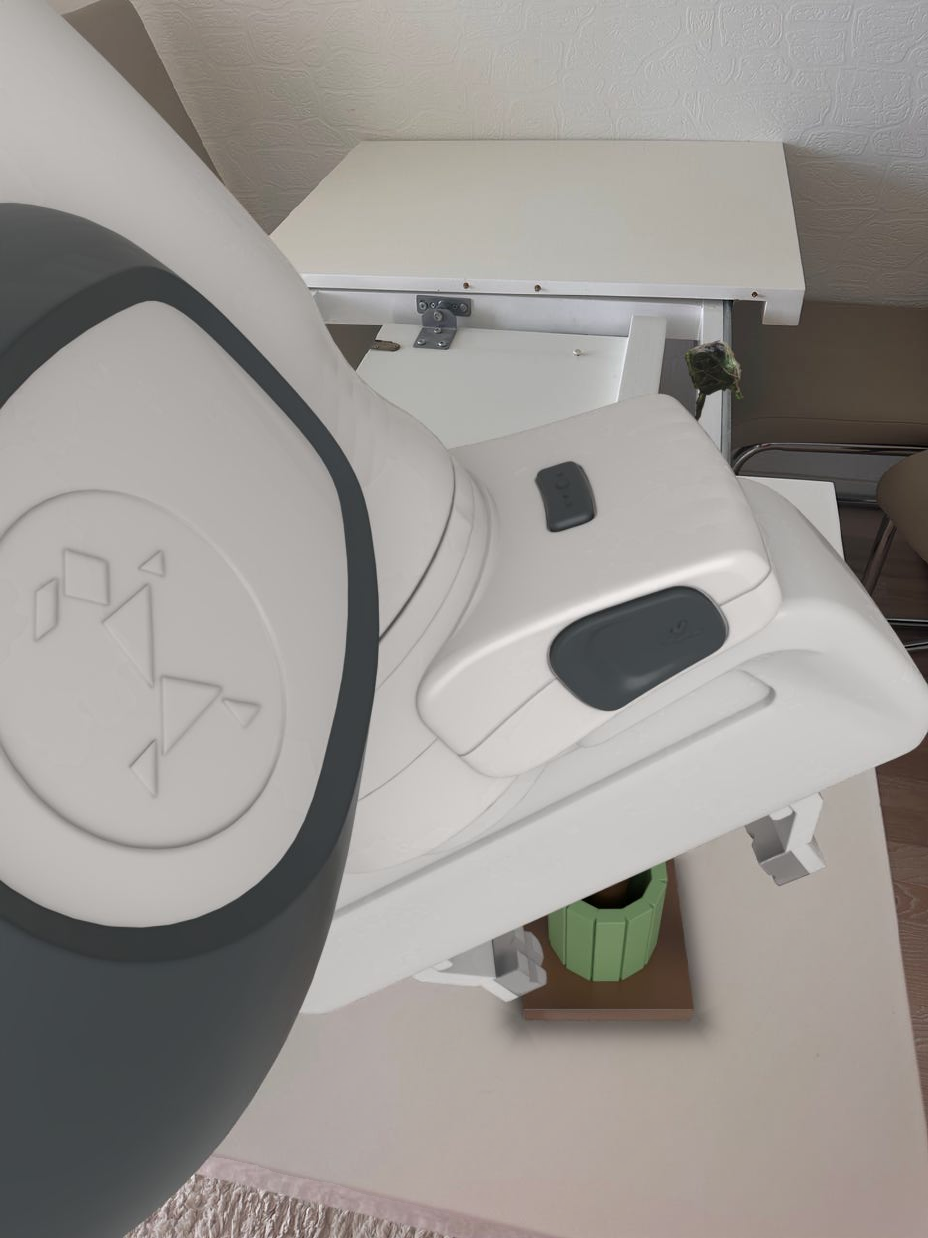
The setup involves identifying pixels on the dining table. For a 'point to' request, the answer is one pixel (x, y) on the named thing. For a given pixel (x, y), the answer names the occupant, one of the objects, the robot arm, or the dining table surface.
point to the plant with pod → (713, 371)
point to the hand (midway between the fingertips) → (654, 918)
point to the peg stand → (637, 997)
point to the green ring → (611, 930)
